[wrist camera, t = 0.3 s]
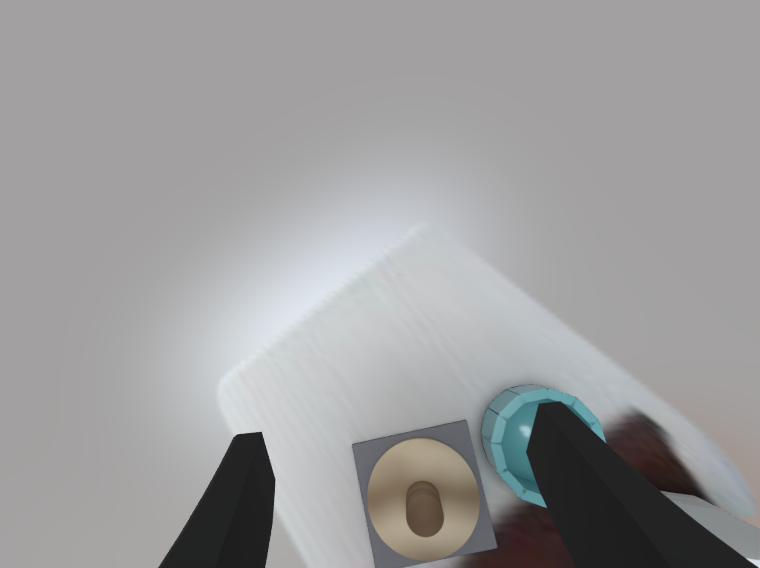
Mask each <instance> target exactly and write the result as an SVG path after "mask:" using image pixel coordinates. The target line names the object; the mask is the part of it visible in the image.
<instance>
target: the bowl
mask: <svg viewBox="0 0 760 568" xmlns="http://www.w3.org/2000/svg"><path fill="white" fill-rule="evenodd" d="M557 401H561V402H563V403H564V404H565V405H566V406H567V407H568V408H569V409H570V410H571V411H572V412H573V413H574V414H575V415H577V416H578V417H579V418H580V419H581V420H582V421H583V422H584V423H585V424H586V425H587V426H588V427H589V428H590V429H591V430H593V431H594V432H595V433H596V434H597V435H598V436H599V437H600V438H601V439H602V440H603V441H604V442H605V443H606V441H605V438H604V434H603V431H602V428H601V424H600V421H598V420H599V419H598V418H597V417H596V416H595V415H594V414H593V413H592V412H591V411H590V410H589V409H588V408H587V407H586V406H585V405H584V404H583V403H582V402H581V401H580V400H579V399H578V398H576V397H574V396H571V395H568V394H565V393H562V392H559V391H556V390H553V389H549V388H546V387H541V386H537V385H533V384H531V385H522V386H516V387H513V388H510V389H508V390H505V391H504V392H502V393H500V394H499V395H498V396H497V397H496V398H495V399H494V400H493V401H492V402H491V403H490V405H489V406H488V408H487V410H486V412H485V414H484V417H483V421H482V426H481V438H482V444H483V447H484V451H485V453H486V455H487V459H488V461H489V463H490V464H491V465H492V467H493V468H494V469H495V471H496V472H497V473H498V474H499V476H500V477H501V478H502V479H503V480H504V481H505V482H506V483H507V484H508V486H509V487H510V488H511V489H512V490H513V491H514V492H515V493H516V495H517V496H518V497H519V498H521V499H523V500H526V501H529V502H531V503H534V504H537V505H540V506H543V507H545V508H547V506H546V504H545V502H544V500H543V498H542V496H541V493H540V491H539V488H538V486H537V483H536V480H535V477H534V475H533V472H532V469H531V466H530V463H529V460H528V457H527V454H526V450H527V446H528V442H529V438H530V435H531V431H532V427H533V423H534V420H535V416H536V412H537V408H538V404H539V403H548V402H557Z"/></svg>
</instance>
